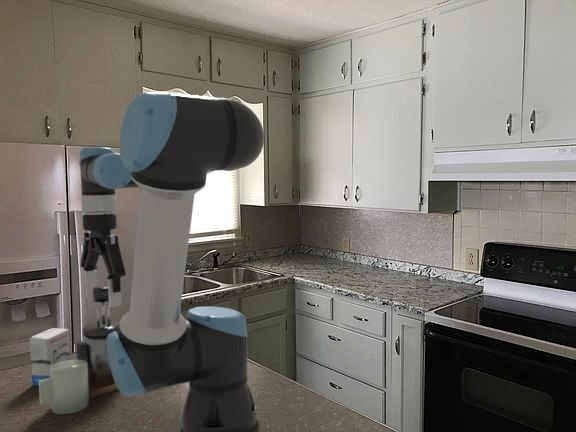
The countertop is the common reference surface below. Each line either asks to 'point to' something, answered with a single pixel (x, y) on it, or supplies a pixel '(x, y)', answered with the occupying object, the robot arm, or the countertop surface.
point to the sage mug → (66, 387)
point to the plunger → (101, 298)
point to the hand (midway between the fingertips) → (103, 301)
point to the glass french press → (98, 355)
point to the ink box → (48, 352)
